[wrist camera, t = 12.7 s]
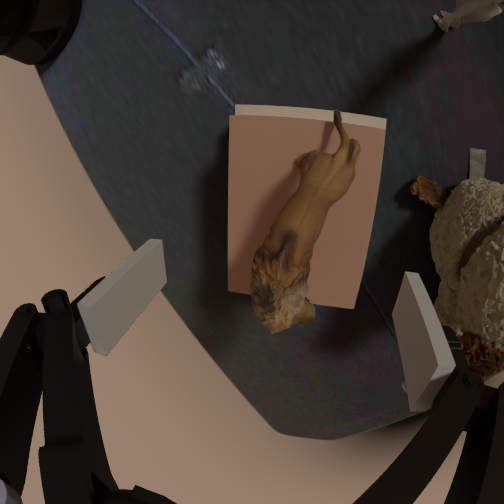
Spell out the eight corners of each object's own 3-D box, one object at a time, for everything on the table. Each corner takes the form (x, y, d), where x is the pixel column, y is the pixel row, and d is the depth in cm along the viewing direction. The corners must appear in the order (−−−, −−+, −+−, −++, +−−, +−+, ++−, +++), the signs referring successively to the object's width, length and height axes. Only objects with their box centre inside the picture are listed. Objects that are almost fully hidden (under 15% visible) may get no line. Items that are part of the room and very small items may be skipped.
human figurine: (470, 0, 18) (549, -49, 2) (488, 27, 19) (578, -6, 3) (399, 30, 23) (460, -35, 7) (419, 58, 24) (500, 18, 8)
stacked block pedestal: (243, 254, 39) (218, 297, 30) (248, 105, 31) (217, 103, 22) (355, 269, 36) (361, 318, 27) (377, 118, 28) (398, 119, 20)
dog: (443, 323, 36) (481, 439, 19) (352, 247, 35) (365, 373, 18) (547, 204, 25) (639, 275, 8) (469, 99, 24) (588, 104, 7)
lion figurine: (315, 284, 27) (306, 354, 19) (257, 266, 28) (228, 330, 20) (368, 119, 20) (394, 122, 12) (299, 99, 21) (284, 90, 13)
